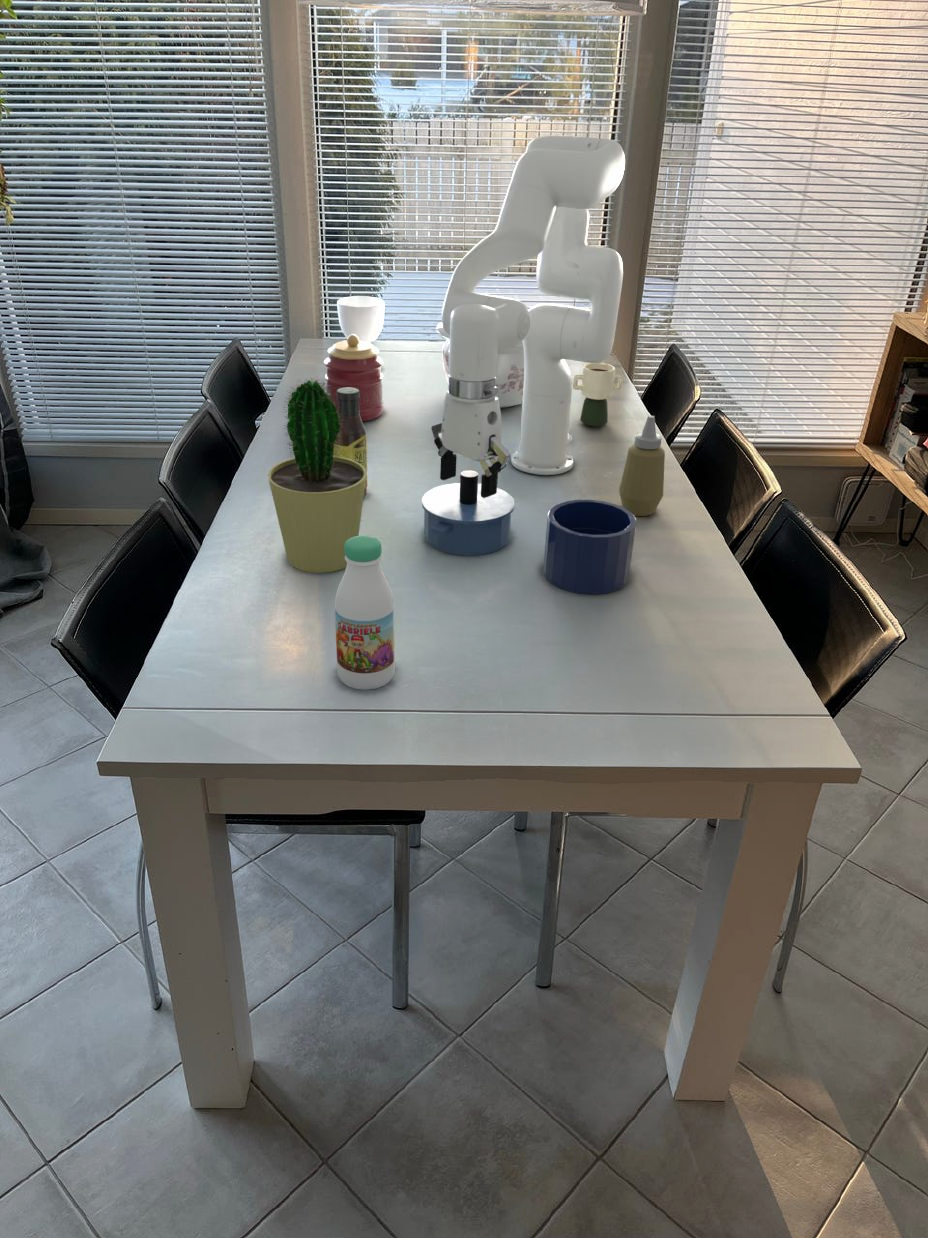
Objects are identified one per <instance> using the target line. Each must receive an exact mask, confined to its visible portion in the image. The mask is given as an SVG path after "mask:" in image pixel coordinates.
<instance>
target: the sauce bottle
mask: <svg viewBox="0 0 928 1238" xmlns="http://www.w3.org/2000/svg"><path fill="white" fill-rule="evenodd" d="M359 398H360V394H359V390H358V389H356V388H352V387H346V388H340V389H338V390H337V399H338V414H340V413H341V414H340V416H341V417H340V416H338V418H339V423H340V424H341V425H340V427H343V426H346V427H343V428H340V430H341V433H340V432H339V433H338V434H337V436H340V437H337V438H336V439H338V438H339V439H338V440H335V441H334V447H336V446H337V445H338V446H337V447H336V448H338V449H335V448H334V451H335V452H334V455H335V454H336V455H337V456H339V457H344V458H348V459H351V460H354V461H356V462H358V463H360V464H361V465H363V466H364V467H365V468H366V471H367V472H368V445H367V444H368V443H367V441H368V440H367V439H368V438H367V431H366V428H365V426H364V423H363V422H364V421H362V420H361V417H360V414H359V413H360V411H359ZM339 410H340V411H339ZM341 419H344V420H341ZM345 420H347V421H345ZM342 423H344V425H342ZM342 432H343V433H342ZM340 434H341V435H340ZM342 442H343V443H342ZM335 444H337V445H335ZM339 445H340V446H339ZM336 450H338V451H336ZM334 455H333V456H334ZM336 455H335V456H336ZM367 487H368V475H367V476H366V480H365V489H364V497H365V496H366V495H367V489H368V488H367Z"/></svg>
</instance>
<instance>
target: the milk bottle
mask: <svg viewBox="0 0 928 1238" xmlns="http://www.w3.org/2000/svg"><path fill="white" fill-rule="evenodd" d="M382 548H383V547H382V543H381V540H380V539H378V538H376V537H374V536H372V535H359V536H355V537H352V538H350V539H348V540H347V541H346V542H345V546H344V550H345V560H346V561H347V566H346V567H345V570H344V574H343V576H342V578H341V580H340V582H339V585H338V587H337V589H336V594H335V598H334V599H335V600H334V601H335V602H334V624H335V646H336V647H335V648H336V649H335V650H336V668H337V676H338V678H339V680H340V681H341V682H342V683H343V684H344V685H345V686H347V687H348V688H349V687H350V688H351V689H354V690H364V691H365V690H375V689H378V688H382V687H383V686H386V685H387V684H388V683H390V682H391V681H392V680H393V678H394V676H395V672H396V640H395V639H396V637H395V636H396V632H395V631H396V629H395V601H394V596H393V591H392V589H391V585H390V584H389V582H388V580H387V578H386V576H385V574H384V572H383V569H382V566H381V562H380V561H382V559H383V558H382V550H383V549H382Z"/></svg>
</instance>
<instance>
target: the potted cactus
mask: <svg viewBox="0 0 928 1238" xmlns="http://www.w3.org/2000/svg"><path fill="white" fill-rule="evenodd" d="M310 379H311V380H310ZM310 379H309V380H305V381H304V382H303V383H302V382H301V380H300V379H298V380H296V382H297V383H298V385H296V388H295V387H292V388H291V389H289V391H287V390H286V392H287V393H289V392H290V393H289V394H288V397H285V396H284V397H285V398H284V399H286V400H287V401H285V400H284V402H285V403H286V404H285V403H284V405H286V406H287V409H284V408H283V410H284V411H283V412H282V414H283V413H287V415H286V416H285V420H287V421H284V423H285V422H286V424H284V427H285V428H284V431H286V432H285V433H284V436H285V437H289V440H290V442H287V443H286V444H287V446H288V445H289V446H288V450H292V451H291V456H293V458H289V457H290V455H289V456H288V455H287V458H289V459H286V460H283V461H280V462H279V463H277V464H275V465H274V466H273V467H271V468H270V470H269V471H268V473H267V478H268V482H269V487H270V492H271V496H272V500H273V504H274V508H275V512H276V516H277V521H278V525H279V529H280V534H281V538H282V542H283V547H284V551H285V554H286V558H287V559H286V560H287V561H288V563H289V564H290V565H291V566H292V567H293V568H295V569H296V570H300V571H303V572H306V573H307V572H308V573H317V574H319V573H320V574H321V573H332V572H336V571H340V570H343V569H346V566H347V561H346V560H345V550H344V546H345V542H346V541H347V540H348V539H350V538H352V537H355V536H360V529H361V519H362V511H363V506H364V505H363V504H364V497H365V496H364V489H365V480H366V476H367V477H368V470H367V471H366V468H365V467H364V466H363V465H361V464H360V463H358V462H356V461H354V460H351V459H348V458H344V457H339V456H337V455H336V454H335V455H336V456H335V455H334V452H335V451H334V448H335V449H338V448H336V447H337V446H338V445H337V444H335V445H337V446H336V447H334V441H335V440H338V439H339V438H338V439H336V438H337V437H340V436H337V434H338V433H339V432H340V433H341V430H340V428H343V427H346V426H343V427H340V425H341V424H340V423H339V418H338V416H340V414H341V413H340V414H339V415H338V413H337V412H336V411H337V408H336V407H335V406H336V404H335V406H334V403H332V401H331V400H330V399H331V398H332V397H331V398H329V397H330V396H331V395H332V394H333V393H332V394H331V395H330V393H329V396H328V395H326V394H327V393H328V392H327V393H326V390H327V389H328V388H327V387H326V386H325V383H322V382H319V381H321V379H320V380H319V378H318V380H317V379H315V380H313V378H310ZM334 402H335V401H334ZM339 411H340V410H339ZM340 417H341V416H340ZM341 420H344V419H341ZM345 421H347V420H345ZM342 425H344V423H342ZM342 433H343V432H342ZM340 435H341V434H340ZM342 443H343V442H342ZM339 446H340V445H339ZM336 451H338V450H336ZM333 455H334V456H333Z"/></svg>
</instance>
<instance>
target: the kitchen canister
mask: <svg viewBox="0 0 928 1238" xmlns="http://www.w3.org/2000/svg"><path fill="white" fill-rule="evenodd" d="M379 353H380V350H379V348H377V347H376V346H374V345H373V344H372V343H371V342H370V343H368V342H365V341H359V338H358V337H357V336H356V335H350V336H348V338H346V340H342V341H341V340H340V341H337V342H336V343H334V344H333V345H332V346H330V347H328V349H327V354H328V356H327V357H326V358H325V359H324V361H323V363H324V366H325V367H326V373H325V375H324V379H325V387H327V388H328V389H327V390H326V389H325V390H326V391H325V392H326V393H327V392H328V393H327V394H326V395H328V396H329V393H330V395H331V394H332V393H333V394H332V395H331V396H330V397H329V398H331V397H332V398H331V399H330V400H331V401H332V403H334V406H335V404H336V406H335V407H336V408H337V411H336V412H337V413H338V399H337V390H338V389H340V388H346V387H352V388H356V389H358V390H359V394H360V398H359V411H360V413H359V414H360V417H361V420H362V422H366V421H371V420H375V419H377V418H379V417H381V416H382V414H383V411H384V404H385V403H384V398H383V397H384V395H383V394H384V393H383V389H384V387H383V379H384V374H383V373H382V367H383V364H384V361H383V359H382V358H381V357H380V356H378V355H379ZM334 401H335V402H334ZM338 415H339V414H338Z"/></svg>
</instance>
